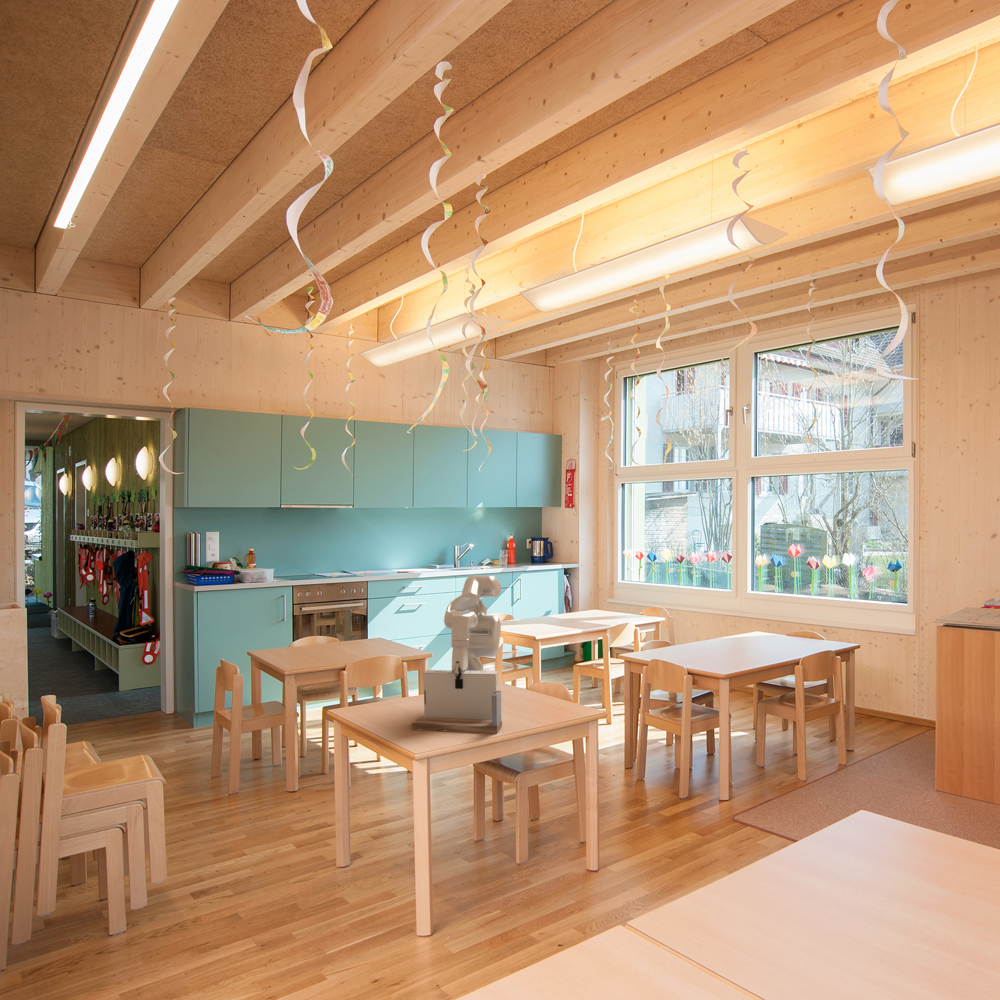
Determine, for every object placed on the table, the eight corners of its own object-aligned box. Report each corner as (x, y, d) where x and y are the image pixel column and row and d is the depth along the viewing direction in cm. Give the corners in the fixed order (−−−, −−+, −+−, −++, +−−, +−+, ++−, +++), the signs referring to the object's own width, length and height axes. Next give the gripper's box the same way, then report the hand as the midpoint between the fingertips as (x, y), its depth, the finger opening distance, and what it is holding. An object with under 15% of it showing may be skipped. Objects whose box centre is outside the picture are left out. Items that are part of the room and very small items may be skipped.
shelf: (419, 723, 318) (419, 716, 318) (502, 726, 311) (502, 720, 311) (411, 729, 308) (411, 723, 308) (497, 733, 301) (497, 726, 301)
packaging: (498, 718, 323) (497, 670, 323) (496, 722, 317) (495, 674, 317) (427, 717, 327) (426, 670, 327) (424, 721, 320) (423, 673, 321)
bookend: (496, 720, 311) (496, 690, 311) (501, 720, 310) (501, 690, 311) (491, 726, 302) (491, 695, 302) (496, 726, 302) (496, 695, 302)
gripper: (456, 640, 331) (457, 682, 331) (446, 646, 315) (446, 691, 314) (473, 640, 330) (474, 683, 329) (464, 646, 313) (464, 691, 313)
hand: (460, 686), depth 322 cm, fingers closed on packaging, 4 cm apart
